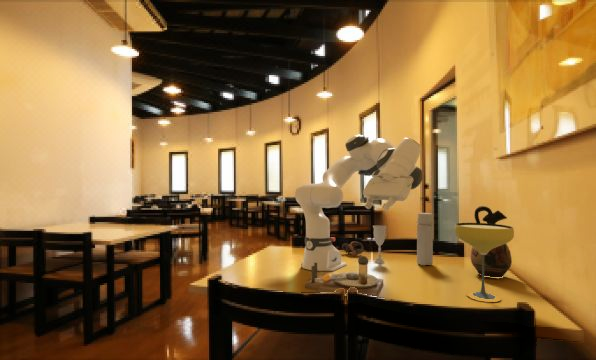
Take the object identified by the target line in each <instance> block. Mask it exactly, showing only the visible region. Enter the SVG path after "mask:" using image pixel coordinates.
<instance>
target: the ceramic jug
mask: <svg viewBox="0 0 596 360" xmlns="http://www.w3.org/2000/svg"><path fill="white" fill-rule="evenodd" d="M482 212H487V214H486V215H484V217H483V218H482V222H486V223H487V224H497V223H498V222H500V221H503V220H506V219H508V218H507V216H505V214H503V213H502V211H499V210H496V211H495V212H493V211H492V209H491V208H490V207H488V206H484V205H481V206H480V205H479V206H478V207H477V208H476V209H475V211H474V214H473V215H474V219H475V223H481V220H480V216H479V213H482ZM471 247H472V248H471V250H470V261H471V264H472V267H474V269H475V270H476V271H477V274H478V273H479V274H481V275H482V255H481V254H480V253H479V252H478V250H477V249H476V248H475V247H473V246H471ZM512 261H513V260H512V255H511V250H510V248H509V246H508V243H506V244H504V245H501V246H498V247H496V248H493V249H491V250H490V251H489V252H488V253H487V254H486V255H484V276H490V277H502V276H503V277H504V275H506V273H507V272H508V271H509V270H510V268H511V267H512V263H513V262H512Z"/></svg>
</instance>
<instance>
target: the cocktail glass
mask: <svg viewBox="0 0 596 360" xmlns="http://www.w3.org/2000/svg"><path fill="white" fill-rule="evenodd" d="M454 233H455V235H456V236H457V238H458V239H460V240H461V241H463V242H464V243H466V244H468V245H469V246H471V247H475V248H476V249H477V250H478V252H479V253H480V254H481V255H482V276H481V288H480V291H475V292H476V293H473V295H474V296H477V297H479V298H484V299H494V298H495V296H493V295H494V294H493V295H491V294H492V293H489V294H488V292H486V287H485V277H484V255H486V254H487V253H488V252H489V251H490V250H491V249H493V248H496V247H498V246H501V245H504V244H508V243H510V242H511V241H512V240H513V239H514V237H515V230H514V227H513V226H510V225H503V224H499V223H498V224H497V223H496V224H487V222H486V223H484V222H482V223H481V222H480V223H476V222H459V223H455V226H454Z"/></svg>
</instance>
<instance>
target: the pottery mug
mask: <svg viewBox="0 0 596 360" xmlns="http://www.w3.org/2000/svg"><path fill="white" fill-rule="evenodd" d="M358 246H359V247H360V248H356V247H358ZM341 248H342V250H343V251H344V252H345V254H351V257H355V256H357V255H361V254H363V252H364V249H365V248H364V245H363V244H362V243H361V242H358V241H351V242H350V243H342V245H341Z"/></svg>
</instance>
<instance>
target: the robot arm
mask: <svg viewBox="0 0 596 360" xmlns="http://www.w3.org/2000/svg"><path fill="white" fill-rule="evenodd" d="M345 149H346V151H347V152H348V153H349V155H345V156H342V157H340V158H339V159H337V160H336V161H335V162H333V163H332V164H331V165H330V166H329V168H327V170H325V171H324V172H323V174H322V182H320V183H305V184H300V185H299V186H298V187H297V188H296V189H295V191H294V192H295V194H294V198H295V201H296V202H297V203H298V205H299V206H300V207H301V210H302V211H303V215H304V218H305V237H304V245H305V246H304V252H303V261H302V262H301V265H302V266H301V267H302V268H303V269H306V270H307V271H308V270H309V271H312V266H314V263H317V272H322V271H327V272H334V271H336V270H338V269H340V268H342V267H346V266H347V263H346V262H345V261H343V260H342V254H341V252H340V250H338V248H336V247H335V246H334V245H333V242H336V237H335V236H334V237H332V236H331V237H330V233H331V229H330V228H331V223H330V222H331V221H330V219H329V217H327V216H326V215H325V214H324V211H323V209H324V208H325V209H330V208H336V207H339V206H340V205H341V204H342V202H343V199H344V193H343V190H342V188H343V186H345V185H346V183H347V182H348V181H349V180H350V179H351V177H353V175H354V174H355V173H356V172H358V173H357V174H358V175H359V176H361V175H362V176H366V177H367V176H368V177H371V178H370V179H369V180H368V181H367V183H366V185H365V186H364V189H363V191H362V195H363V196H364V197H365V198H366V203H365V205H364V208H366V209H367V210H370V209H372V206H373V204H372V203H373V202H374V201H375V200H378V201H386V202H385V203H383V204H382V206H381V209H382V210H384V211H389V209H390V208H391V207H392V206H394V204H395V203H396V202H398V201H399V202H404V201H405V200H406V199H408V197H409V194H410V193H411V190H414V189H416V188H417V187H419V186H420V185H421V183H422V181H423V178H424V177H423V170H422V169H421V168H420V167H419V166H417V165H416V163H417V162H418V159H419V157H420V155H421V152H422V146H421V145H420V144H419V143H418V142H417V141H416V140H415V139H412V138H409V137H404V138H403V139H402V140H400V142H399V143H398V144H397V146H394V145H393V144H392V143H391V141H389V140H387V139H385V138H381V137H380V138H379V137H378V138H375V139H373V140H372V141H371V140H369V136H365V135H363V134H362V135H361V134H355V135H353V136H351V137H349V139H348V140H347V141H346V142H345Z"/></svg>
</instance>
